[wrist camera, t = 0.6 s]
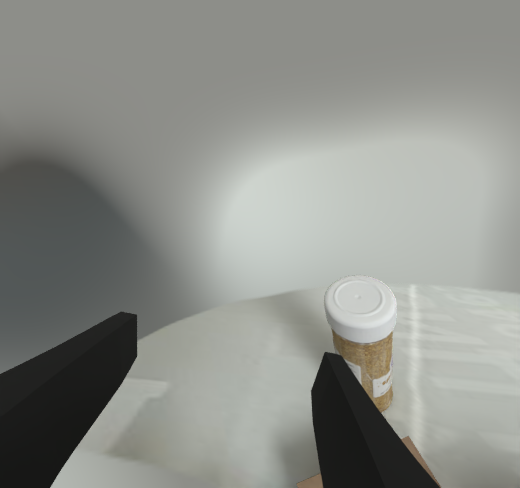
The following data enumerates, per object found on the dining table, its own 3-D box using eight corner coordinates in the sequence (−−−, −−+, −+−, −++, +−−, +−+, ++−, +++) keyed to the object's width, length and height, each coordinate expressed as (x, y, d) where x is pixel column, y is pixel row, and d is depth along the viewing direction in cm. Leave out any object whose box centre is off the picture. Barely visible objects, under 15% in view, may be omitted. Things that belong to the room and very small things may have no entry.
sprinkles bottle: (401, 413, 21) (411, 319, 14) (348, 417, 22) (330, 331, 15) (381, 362, 25) (380, 266, 18) (336, 367, 26) (317, 279, 18)
